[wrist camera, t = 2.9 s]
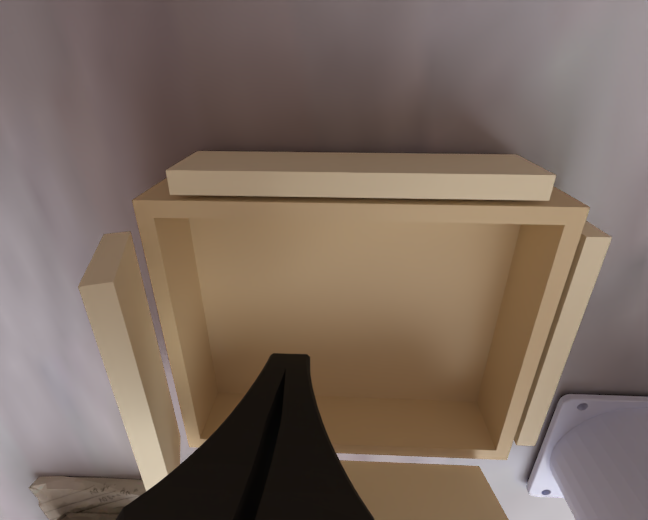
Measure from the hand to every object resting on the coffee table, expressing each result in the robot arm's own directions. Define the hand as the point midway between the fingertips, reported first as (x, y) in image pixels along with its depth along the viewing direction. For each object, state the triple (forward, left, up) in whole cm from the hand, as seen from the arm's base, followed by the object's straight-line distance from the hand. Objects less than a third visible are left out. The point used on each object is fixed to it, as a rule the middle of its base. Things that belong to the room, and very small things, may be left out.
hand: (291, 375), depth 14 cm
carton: (-2, 0, -5) cm, 5 cm away
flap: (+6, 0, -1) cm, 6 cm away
